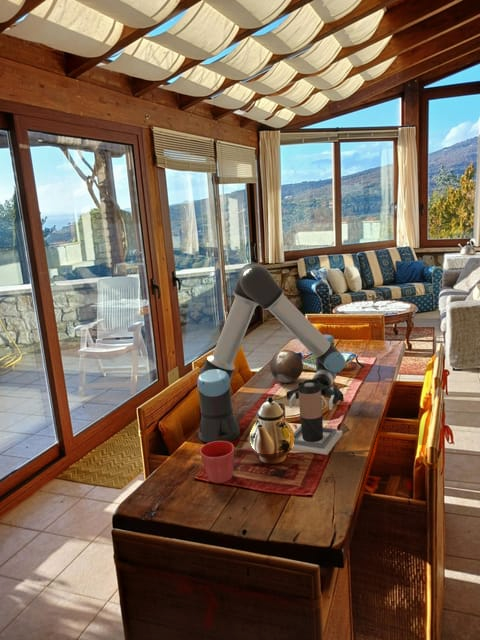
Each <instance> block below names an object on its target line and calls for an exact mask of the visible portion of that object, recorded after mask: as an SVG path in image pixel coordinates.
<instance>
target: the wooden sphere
mask: <svg viewBox="0 0 480 640" xmlns="http://www.w3.org/2000/svg"><path fill="white" fill-rule="evenodd" d="M302 360H303V359H302V358H301V357H300V355H299V354H298V353H296V352H295V351H293V350H289V349H283V350H280V351H278V352H276V353H275V354H274V355H273V357H272V358H271V360H270V364H269V366H270V367H269V368H270V371H271V375H272V376H273V378H274V379H276V380H277V381H279V382H280V383H283V384H286V383H287V384H289V383H292V382H293V383H294V382H295V381H296V380H298V379H299V378H300V377H301V375H302V373H303V370H304V363H303V361H302Z"/></svg>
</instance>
